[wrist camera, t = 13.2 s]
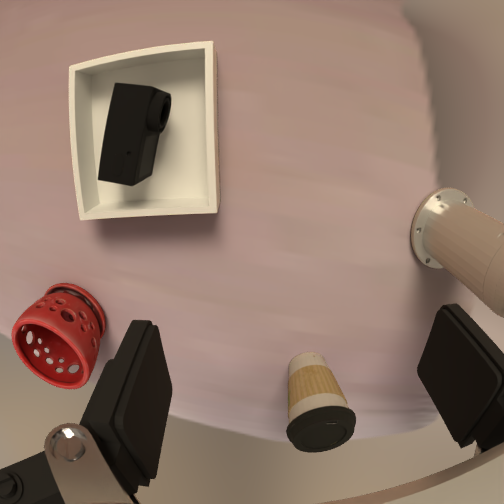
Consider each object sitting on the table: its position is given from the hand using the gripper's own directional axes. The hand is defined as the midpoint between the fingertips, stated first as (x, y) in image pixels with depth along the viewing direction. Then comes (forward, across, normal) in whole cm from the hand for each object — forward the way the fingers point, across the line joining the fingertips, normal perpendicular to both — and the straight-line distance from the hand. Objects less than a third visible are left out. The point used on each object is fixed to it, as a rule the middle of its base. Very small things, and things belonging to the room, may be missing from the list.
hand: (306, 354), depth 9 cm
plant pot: (+31, +29, +19) cm, 46 cm away
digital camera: (+30, +13, -7) cm, 33 cm away
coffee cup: (+31, -8, +30) cm, 44 cm away
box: (+30, +13, -7) cm, 34 cm away
